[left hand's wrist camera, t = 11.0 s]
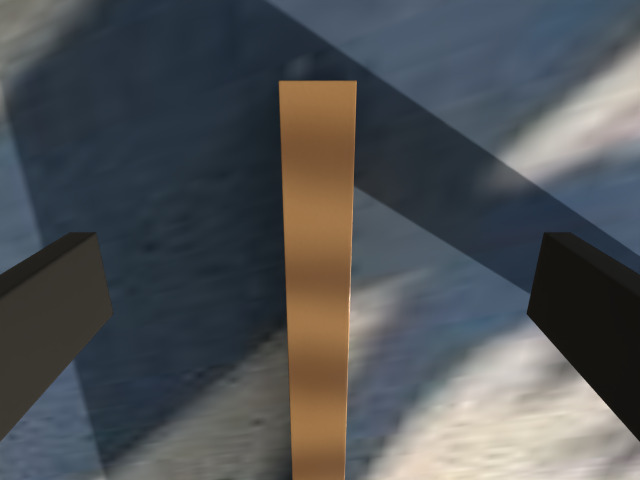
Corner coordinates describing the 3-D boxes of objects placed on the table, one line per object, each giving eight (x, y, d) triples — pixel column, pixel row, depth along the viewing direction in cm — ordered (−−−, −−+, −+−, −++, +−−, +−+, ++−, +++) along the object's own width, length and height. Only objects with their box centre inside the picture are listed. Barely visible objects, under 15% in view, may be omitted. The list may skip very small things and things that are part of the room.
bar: (287, 80, 33) (278, 80, 26) (348, 80, 33) (356, 80, 26) (301, 591, 57) (298, 661, 51) (336, 591, 57) (339, 661, 51)
